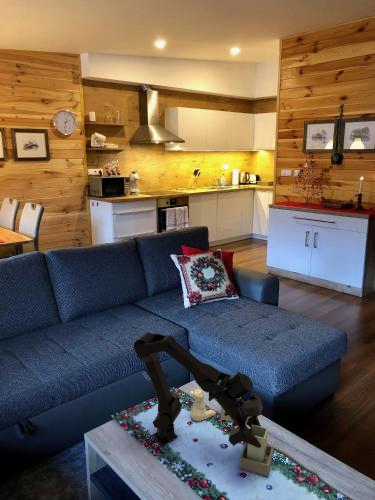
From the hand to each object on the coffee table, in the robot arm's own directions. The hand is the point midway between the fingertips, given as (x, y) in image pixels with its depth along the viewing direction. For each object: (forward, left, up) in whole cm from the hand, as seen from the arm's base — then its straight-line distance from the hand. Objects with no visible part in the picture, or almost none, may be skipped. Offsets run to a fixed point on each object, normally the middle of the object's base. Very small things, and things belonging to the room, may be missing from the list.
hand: (261, 441), depth 129 cm
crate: (-1, -1, -9) cm, 9 cm away
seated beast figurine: (-31, 0, -9) cm, 32 cm away
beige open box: (-1, -1, -7) cm, 7 cm away
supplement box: (-24, +9, -9) cm, 27 cm away
